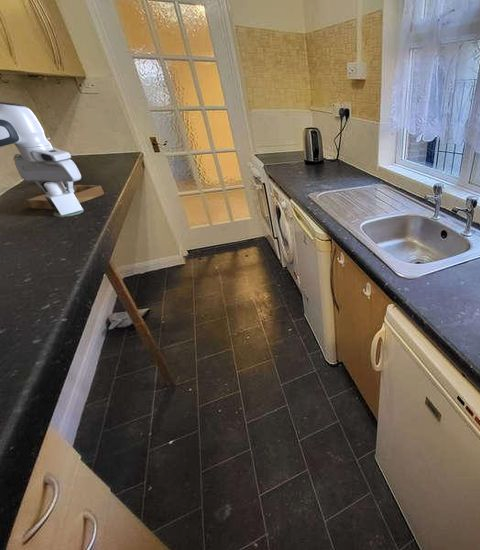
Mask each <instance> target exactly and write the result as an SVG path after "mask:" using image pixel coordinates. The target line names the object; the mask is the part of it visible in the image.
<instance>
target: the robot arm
mask: <svg viewBox="0 0 480 550" xmlns="http://www.w3.org/2000/svg"><path fill="white" fill-rule="evenodd" d="M46 137H47V136H46V135H45V130H44V128H43V126H42V124H41V123H40V121H39V119H38V118H37V116H36V115H35V113H34V111H32V110H31V109H30V108H29V107H27V106H26V105H24V104H20V103H14V102H6V101H5V102H4V101H0V148H2V147H5V146H8V145H9V146H10V145H14V146H15V147H16V149H17V151H18V153H16V154H14V155H13V161H14V165H15V167H16V170H17V172H18V174H19V176H20V178H21V179H22V180H24V181H25V182H34V183H35V184H36V185H37V186H38V187H40V188H41V189H42V190H43V193H44V194H47V193H46V192H45V190H44V189H43V187H42V185H41V184H42V183H43V182H45V181H62V182H63V183H64V185H66V189H65V190H66V192H67V193H74V192H75V191H74V189H73V186H74V182H78V181H81V180H82V175H81V172H80V170H79V168H78V166H77V165H76V163H75V162H74V161H73V160H72V159H71V158H72V156H71V153H70V152H68V151H65V150H62V149H59V148H57V147H53V145H52V143H51V142H50V141H49V140H47V139H46Z"/></svg>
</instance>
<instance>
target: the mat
mask: <svg viewBox="0 0 480 550" xmlns="http://www.w3.org/2000/svg"><path fill="white" fill-rule="evenodd" d="M83 212H84V209H83V210H81V211H77V212H74V213H70V214H66V215H62V216H61V215H59V214H57V213H56V212H54V213H53V214H52V216H54V217H57V218H64V217H65V216H66V217H72V216H75V215H80V214H81V213H83ZM66 217H65V218H66Z"/></svg>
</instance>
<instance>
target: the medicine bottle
mask: <svg viewBox="0 0 480 550" xmlns="http://www.w3.org/2000/svg"><path fill="white" fill-rule="evenodd" d="M41 185H42V187H43V189H44V190H45V192H46V193H45V192H44V193H45V194H46V195H44V194H43V195H44V196H45V197H46V199H47V201H48V202H49V204H50V205H51V207H52V208H53V209H52V210H53V212H54V213H57V214H59V215H61V216H62V215H66V214H70V213H74V212H77V211H81V210H83V211H84V208H83V207H82V205H81V203H79V202H78V200H77V198H76V196H75V195H74V193H67V192H66V190H65V189H66V188H67V185H66V184H64V182H62V181H45V182H43V183H42V184H41ZM43 189H42V190H43ZM44 190H43V191H44Z"/></svg>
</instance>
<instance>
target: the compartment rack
mask: <svg viewBox="0 0 480 550" xmlns="http://www.w3.org/2000/svg"><path fill="white" fill-rule="evenodd" d="M73 189H74V191H75V192H74V195H75V196H76V198H77V200H78V202H79V203H80V204H81V203H84V202H87V201H90V200H92V199H95V198H98V197H100V196H103V195H105V192H104V190H103V187H102V186H101V185H85V184H84V185H83V184H73ZM46 194H47V193H44V194H41V195H38V196H37V195H36V196H34V197H30V198H27V199H25V202H26V204H27V206H28V207H29V208H30V209H39V210H53V208H52V207H51V205H50V204H49V202H48V201H47V199H46V197H45V196H44V195H46Z"/></svg>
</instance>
